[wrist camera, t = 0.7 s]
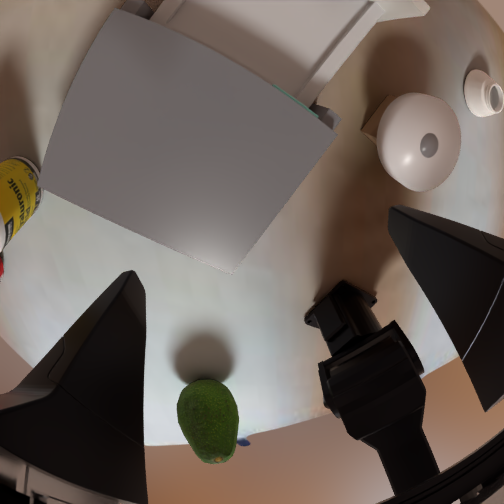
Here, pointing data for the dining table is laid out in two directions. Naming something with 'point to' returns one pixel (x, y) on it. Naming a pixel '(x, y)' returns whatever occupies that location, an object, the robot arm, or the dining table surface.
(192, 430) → the avocado
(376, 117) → the brown cube
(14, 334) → the dining table surface
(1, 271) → the soda can
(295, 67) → the white drawer
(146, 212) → the housing
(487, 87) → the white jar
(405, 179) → the disc
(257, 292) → the dining table surface
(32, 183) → the supplement bottle
